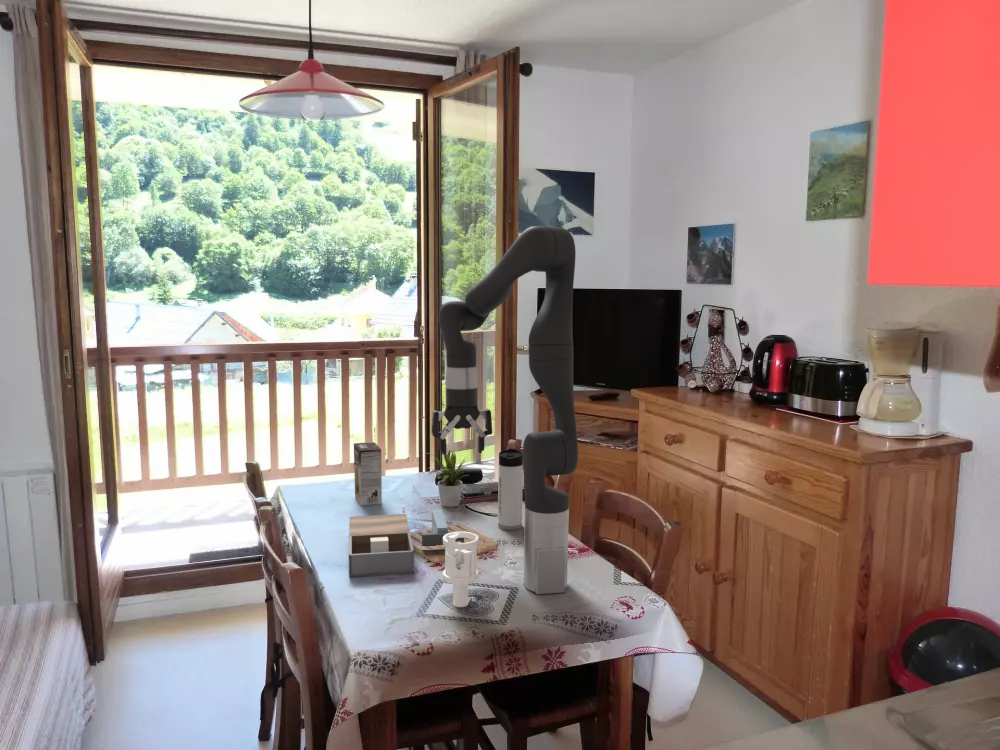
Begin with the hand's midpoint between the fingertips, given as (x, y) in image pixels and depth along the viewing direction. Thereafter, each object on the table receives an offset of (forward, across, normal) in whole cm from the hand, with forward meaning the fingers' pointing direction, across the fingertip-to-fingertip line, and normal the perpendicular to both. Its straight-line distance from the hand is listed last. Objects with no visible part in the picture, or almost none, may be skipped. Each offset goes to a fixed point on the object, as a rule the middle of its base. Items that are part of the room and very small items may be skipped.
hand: (462, 453), depth 183 cm
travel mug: (+23, +14, +12) cm, 29 cm away
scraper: (+23, -5, +7) cm, 24 cm away
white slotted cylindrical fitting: (+24, -6, -31) cm, 40 cm away
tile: (+20, -20, -3) cm, 29 cm away
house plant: (+22, +1, +34) cm, 41 cm away
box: (+23, -20, -8) cm, 32 cm away
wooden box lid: (+22, -20, +5) cm, 30 cm away
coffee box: (+22, -21, +41) cm, 51 cm away
